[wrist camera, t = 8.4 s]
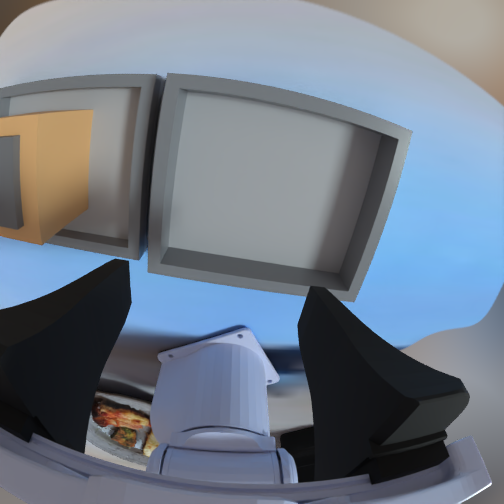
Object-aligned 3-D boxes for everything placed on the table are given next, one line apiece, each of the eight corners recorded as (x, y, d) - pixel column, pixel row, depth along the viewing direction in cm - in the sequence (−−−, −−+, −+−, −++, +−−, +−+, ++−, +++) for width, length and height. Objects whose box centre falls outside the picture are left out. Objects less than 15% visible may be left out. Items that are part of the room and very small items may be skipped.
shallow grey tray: (179, 79, 15) (171, 75, 13) (158, 249, 20) (151, 262, 19) (12, 88, 14) (-4, 89, 12) (12, 223, 19) (-1, 232, 17)
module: (93, 109, 15) (31, 115, 9) (88, 208, 18) (36, 250, 12) (39, 111, 14) (-24, 122, 8) (38, 201, 17) (-17, 237, 12)
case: (388, 126, 17) (412, 131, 14) (341, 278, 22) (354, 302, 19) (180, 79, 15) (167, 73, 12) (159, 250, 20) (147, 272, 18)
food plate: (68, 352, 26) (57, 375, 23) (254, 419, 31) (255, 443, 28) (69, 424, 36) (64, 440, 33) (189, 466, 42) (187, 482, 39)
